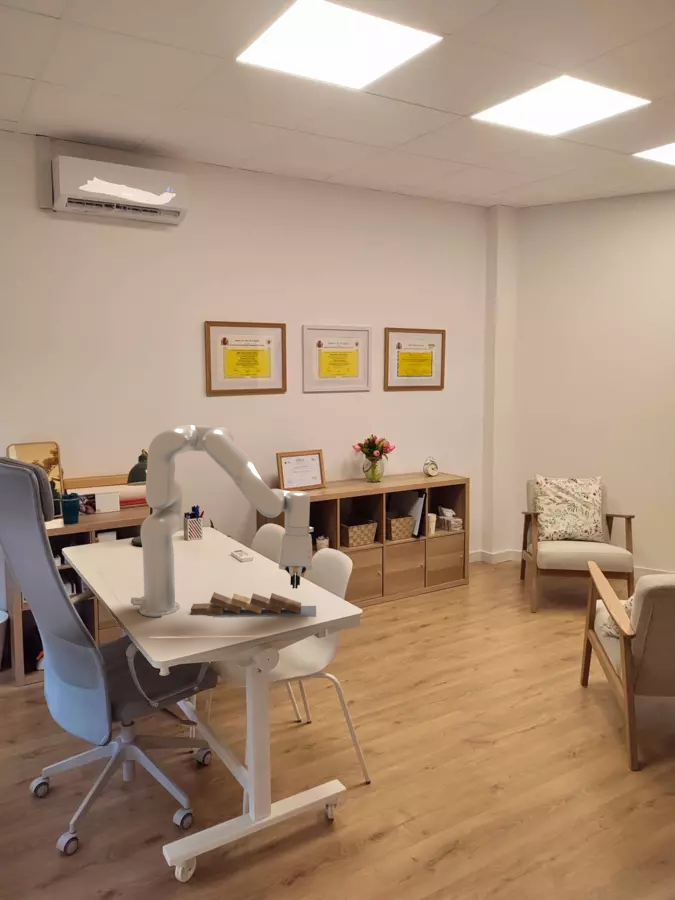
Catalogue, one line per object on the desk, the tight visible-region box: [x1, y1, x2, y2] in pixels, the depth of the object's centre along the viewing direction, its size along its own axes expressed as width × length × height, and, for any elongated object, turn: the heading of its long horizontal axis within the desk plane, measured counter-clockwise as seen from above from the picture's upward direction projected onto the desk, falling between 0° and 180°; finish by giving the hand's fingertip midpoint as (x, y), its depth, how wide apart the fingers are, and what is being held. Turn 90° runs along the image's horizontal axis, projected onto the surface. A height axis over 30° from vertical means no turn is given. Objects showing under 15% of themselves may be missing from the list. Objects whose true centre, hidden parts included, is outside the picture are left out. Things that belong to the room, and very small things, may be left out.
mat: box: [212, 605, 317, 618], centre depth 219 cm, size 32×10×1 cm, turn 92°
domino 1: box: [190, 602, 225, 615], centre depth 218 cm, size 2×5×10 cm
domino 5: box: [269, 593, 302, 613], centre depth 219 cm, size 2×5×10 cm
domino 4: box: [250, 593, 282, 614], centre depth 219 cm, size 2×5×10 cm
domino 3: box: [231, 592, 263, 614], centre depth 219 cm, size 2×5×10 cm
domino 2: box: [209, 591, 242, 614], centre depth 218 cm, size 2×5×10 cm
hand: (295, 587), depth 219 cm, fingers closed
